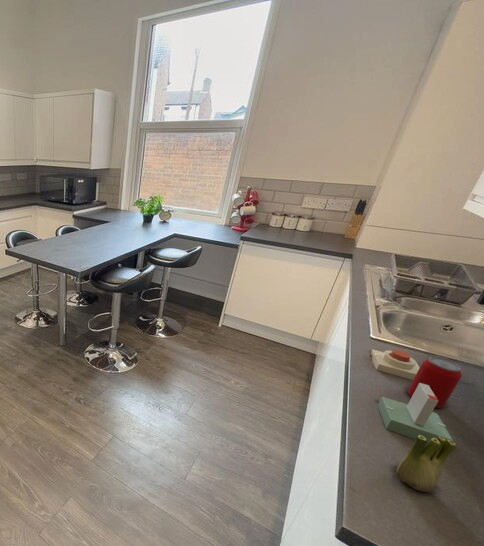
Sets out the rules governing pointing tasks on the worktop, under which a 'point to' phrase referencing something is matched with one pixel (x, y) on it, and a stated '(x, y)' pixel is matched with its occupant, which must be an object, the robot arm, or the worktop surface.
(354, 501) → the worktop surface
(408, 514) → the worktop surface
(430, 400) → the handle
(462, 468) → the worktop surface
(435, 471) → the fennel bulb
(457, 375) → the beverage can
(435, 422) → the plate
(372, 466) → the worktop surface
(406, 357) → the button
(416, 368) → the button box
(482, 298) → the robot arm
